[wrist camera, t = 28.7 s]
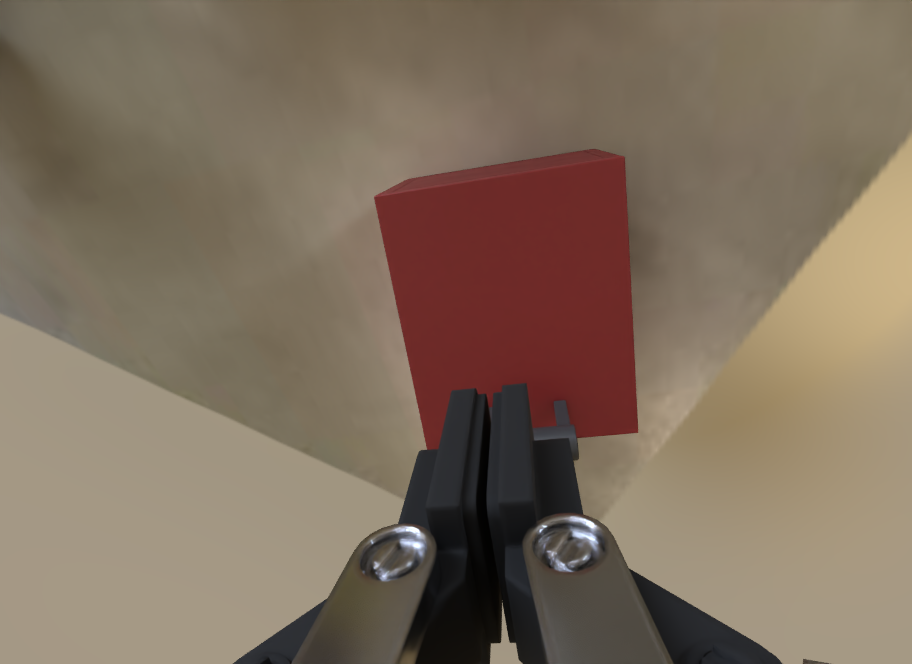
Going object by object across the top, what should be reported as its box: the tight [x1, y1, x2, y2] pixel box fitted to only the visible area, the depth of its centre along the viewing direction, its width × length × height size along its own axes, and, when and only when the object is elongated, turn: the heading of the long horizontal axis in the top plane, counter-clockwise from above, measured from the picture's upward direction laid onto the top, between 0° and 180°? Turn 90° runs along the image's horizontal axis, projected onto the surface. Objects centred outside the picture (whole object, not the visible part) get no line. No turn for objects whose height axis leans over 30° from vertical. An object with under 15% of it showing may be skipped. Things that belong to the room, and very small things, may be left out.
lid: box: [374, 156, 638, 461], centre depth 27 cm, size 16×13×6 cm
